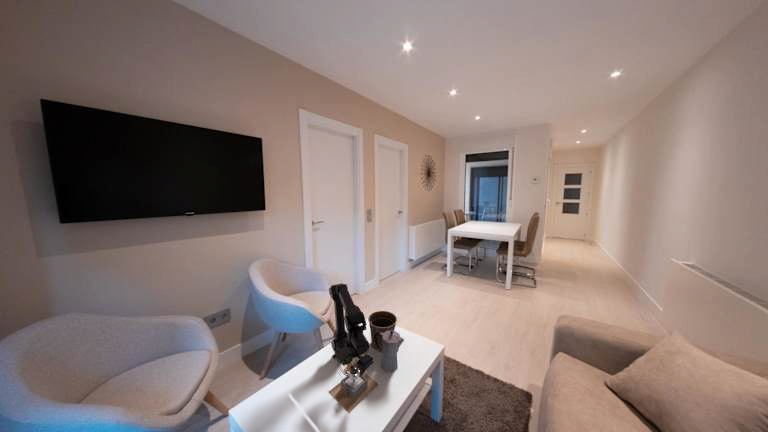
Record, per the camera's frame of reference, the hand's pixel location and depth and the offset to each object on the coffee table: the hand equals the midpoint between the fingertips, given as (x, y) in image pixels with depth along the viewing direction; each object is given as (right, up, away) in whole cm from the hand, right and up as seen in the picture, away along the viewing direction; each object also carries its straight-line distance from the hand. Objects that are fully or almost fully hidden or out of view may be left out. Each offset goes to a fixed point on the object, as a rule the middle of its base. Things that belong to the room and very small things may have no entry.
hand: (354, 370), depth 103 cm
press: (0, -9, +1) cm, 9 cm away
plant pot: (+12, -6, +30) cm, 33 cm away
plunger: (0, -6, +1) cm, 6 cm away
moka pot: (+15, -8, +14) cm, 23 cm away
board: (0, -10, +2) cm, 10 cm away
